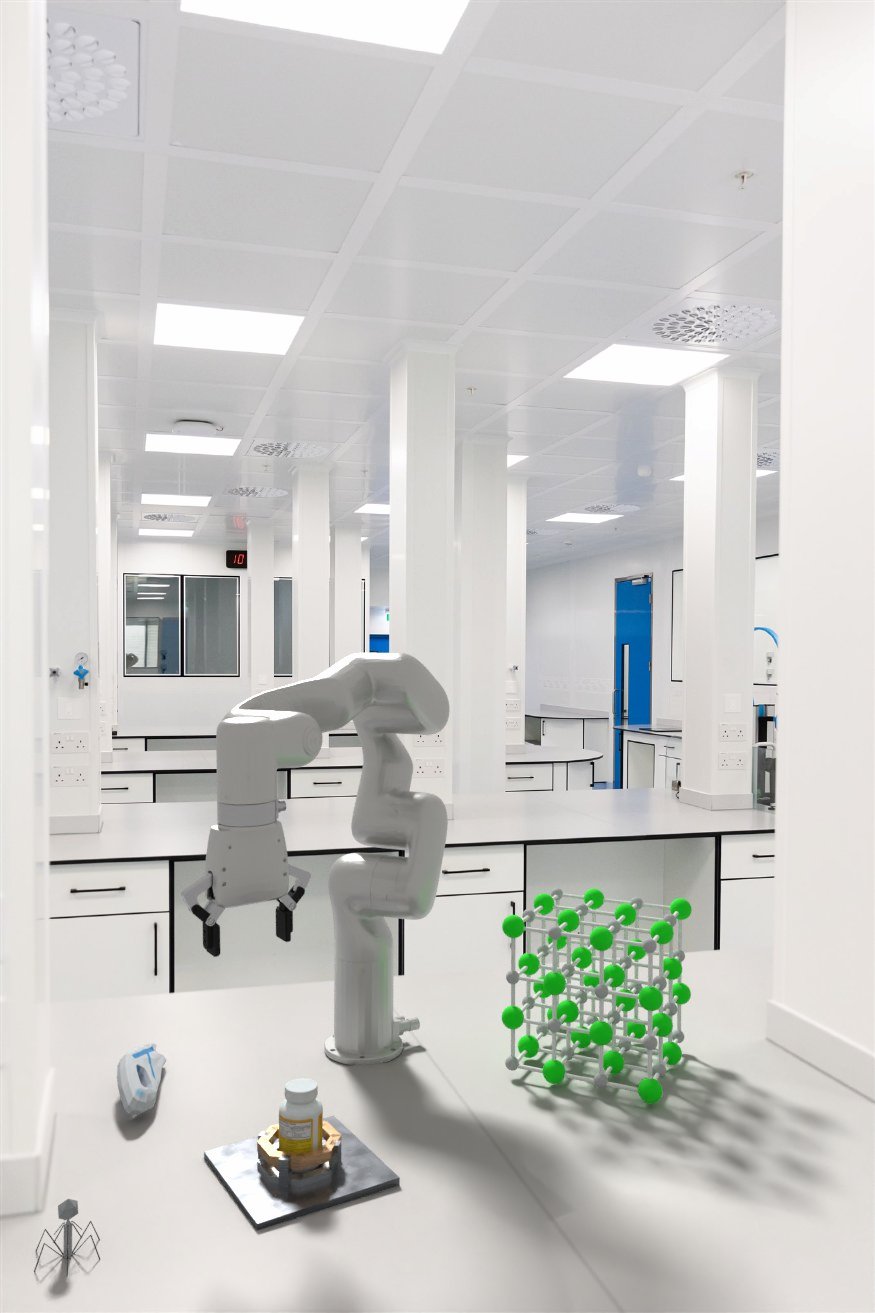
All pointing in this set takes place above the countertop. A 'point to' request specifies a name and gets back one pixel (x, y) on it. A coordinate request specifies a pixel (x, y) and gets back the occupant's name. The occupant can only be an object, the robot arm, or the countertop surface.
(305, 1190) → the collar base
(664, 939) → the molecular structure model
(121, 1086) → the spaceship
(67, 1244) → the bacteriophage
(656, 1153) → the countertop surface
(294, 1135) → the supplement bottle
